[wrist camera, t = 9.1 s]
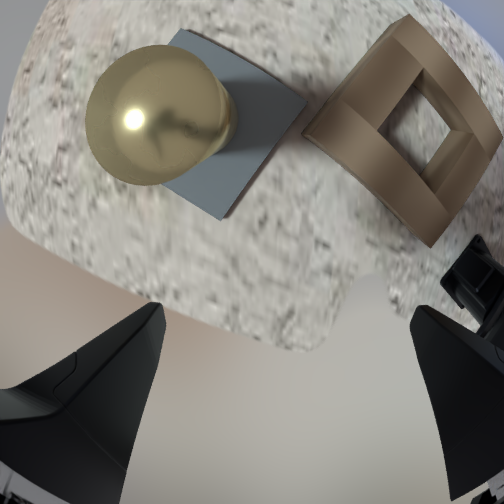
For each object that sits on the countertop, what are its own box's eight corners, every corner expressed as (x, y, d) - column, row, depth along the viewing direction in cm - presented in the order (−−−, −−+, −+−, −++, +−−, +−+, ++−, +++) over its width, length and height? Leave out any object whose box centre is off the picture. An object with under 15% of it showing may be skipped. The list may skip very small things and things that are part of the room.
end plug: (254, 107, 15) (252, 86, 7) (210, 170, 17) (170, 212, 9) (189, 70, 14) (131, 27, 6) (149, 133, 16) (67, 146, 8)
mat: (306, 102, 16) (308, 101, 15) (221, 218, 19) (220, 221, 19) (182, 30, 13) (180, 28, 13) (108, 148, 17) (105, 149, 16)
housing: (480, 132, 15) (503, 137, 12) (411, 232, 20) (430, 248, 17) (390, 24, 12) (409, 13, 10) (301, 134, 17) (310, 135, 14)
